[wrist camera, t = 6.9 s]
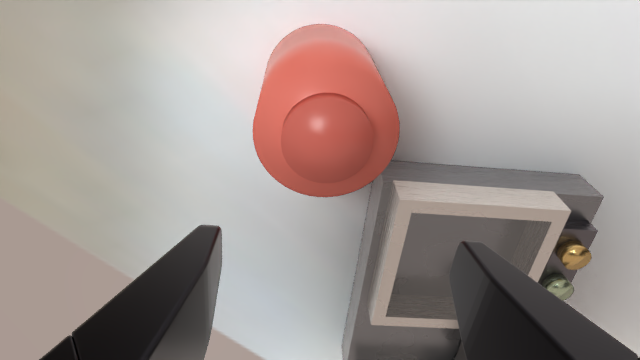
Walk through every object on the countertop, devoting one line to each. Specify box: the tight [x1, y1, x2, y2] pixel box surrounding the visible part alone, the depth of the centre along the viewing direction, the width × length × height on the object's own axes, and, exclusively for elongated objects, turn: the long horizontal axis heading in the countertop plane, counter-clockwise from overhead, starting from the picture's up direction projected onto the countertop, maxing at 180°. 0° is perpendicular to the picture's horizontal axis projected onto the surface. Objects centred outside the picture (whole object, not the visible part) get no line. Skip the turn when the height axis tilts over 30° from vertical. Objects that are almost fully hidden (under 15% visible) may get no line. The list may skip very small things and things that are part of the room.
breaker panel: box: [342, 161, 604, 360], centre depth 23 cm, size 10×13×4 cm
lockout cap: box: [253, 24, 399, 197], centre depth 16 cm, size 5×5×6 cm
